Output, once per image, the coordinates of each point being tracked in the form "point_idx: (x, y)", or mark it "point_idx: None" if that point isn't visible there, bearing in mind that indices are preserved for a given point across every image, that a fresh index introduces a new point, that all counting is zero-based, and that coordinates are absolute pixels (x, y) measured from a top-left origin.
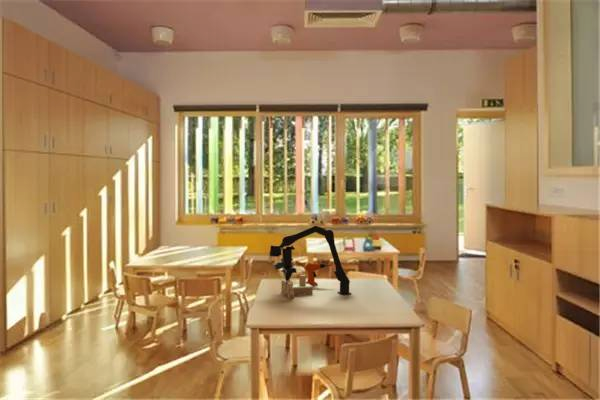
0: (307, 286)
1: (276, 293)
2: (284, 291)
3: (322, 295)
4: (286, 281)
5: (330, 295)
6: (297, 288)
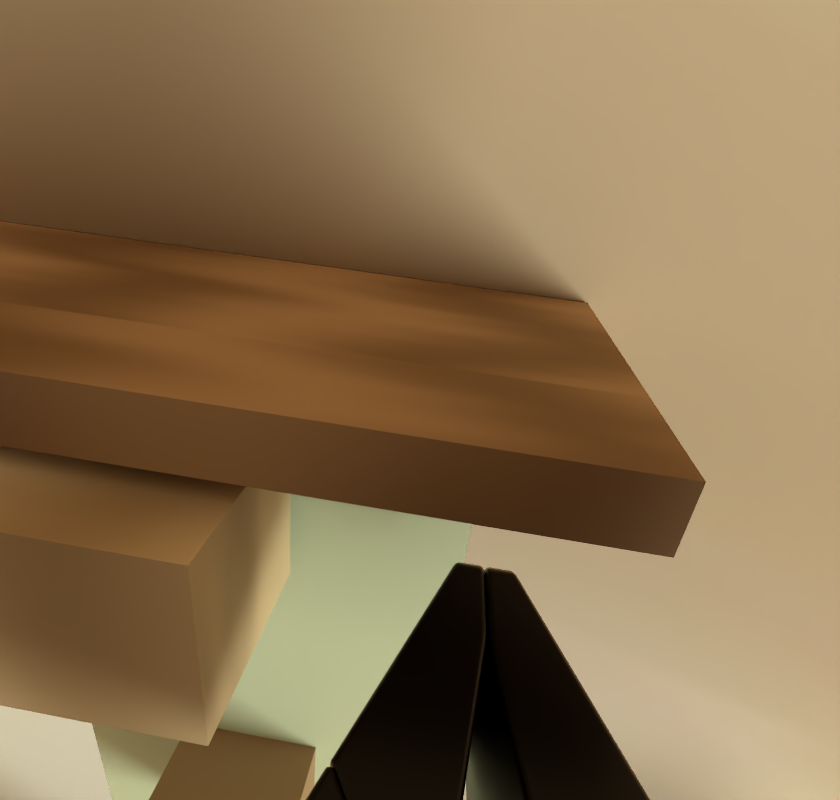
0: (111, 783)
1: (519, 95)
2: (290, 282)
3: (93, 739)
4: (140, 524)
5: (82, 794)
6: None
